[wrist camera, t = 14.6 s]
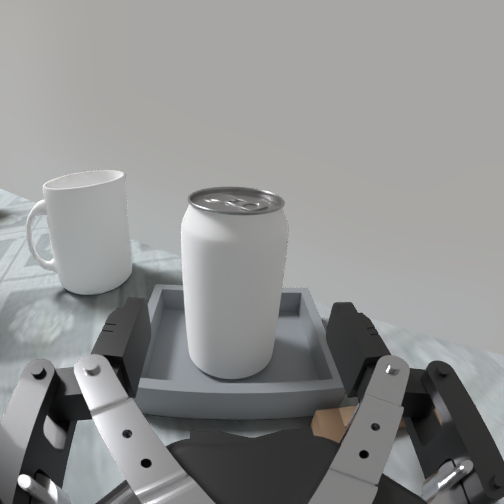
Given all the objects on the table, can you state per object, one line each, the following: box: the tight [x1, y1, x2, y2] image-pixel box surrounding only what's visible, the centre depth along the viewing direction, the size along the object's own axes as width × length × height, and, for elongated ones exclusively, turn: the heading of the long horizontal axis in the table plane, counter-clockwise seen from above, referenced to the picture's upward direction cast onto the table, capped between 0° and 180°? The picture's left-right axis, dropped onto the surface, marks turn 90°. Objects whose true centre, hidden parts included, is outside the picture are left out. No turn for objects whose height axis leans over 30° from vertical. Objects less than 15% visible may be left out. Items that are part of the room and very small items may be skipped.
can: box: [181, 187, 289, 380], centre depth 20 cm, size 6×6×12 cm
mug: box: [26, 170, 132, 295], centre depth 29 cm, size 10×12×12 cm
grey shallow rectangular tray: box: [132, 284, 346, 420], centre depth 22 cm, size 14×12×3 cm
